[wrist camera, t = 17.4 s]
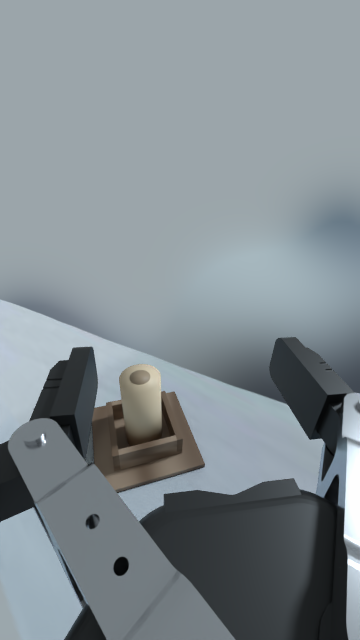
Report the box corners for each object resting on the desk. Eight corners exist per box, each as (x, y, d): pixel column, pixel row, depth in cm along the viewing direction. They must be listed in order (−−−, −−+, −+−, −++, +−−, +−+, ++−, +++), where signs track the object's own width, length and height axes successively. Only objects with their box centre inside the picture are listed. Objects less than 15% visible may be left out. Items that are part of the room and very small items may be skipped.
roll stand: (174, 394, 49) (174, 378, 47) (204, 466, 37) (206, 449, 35) (91, 411, 45) (88, 394, 43) (96, 498, 33) (93, 481, 32)
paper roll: (156, 415, 44) (154, 360, 38) (166, 443, 39) (165, 385, 34) (123, 425, 42) (115, 368, 36) (130, 454, 38) (123, 396, 32)
